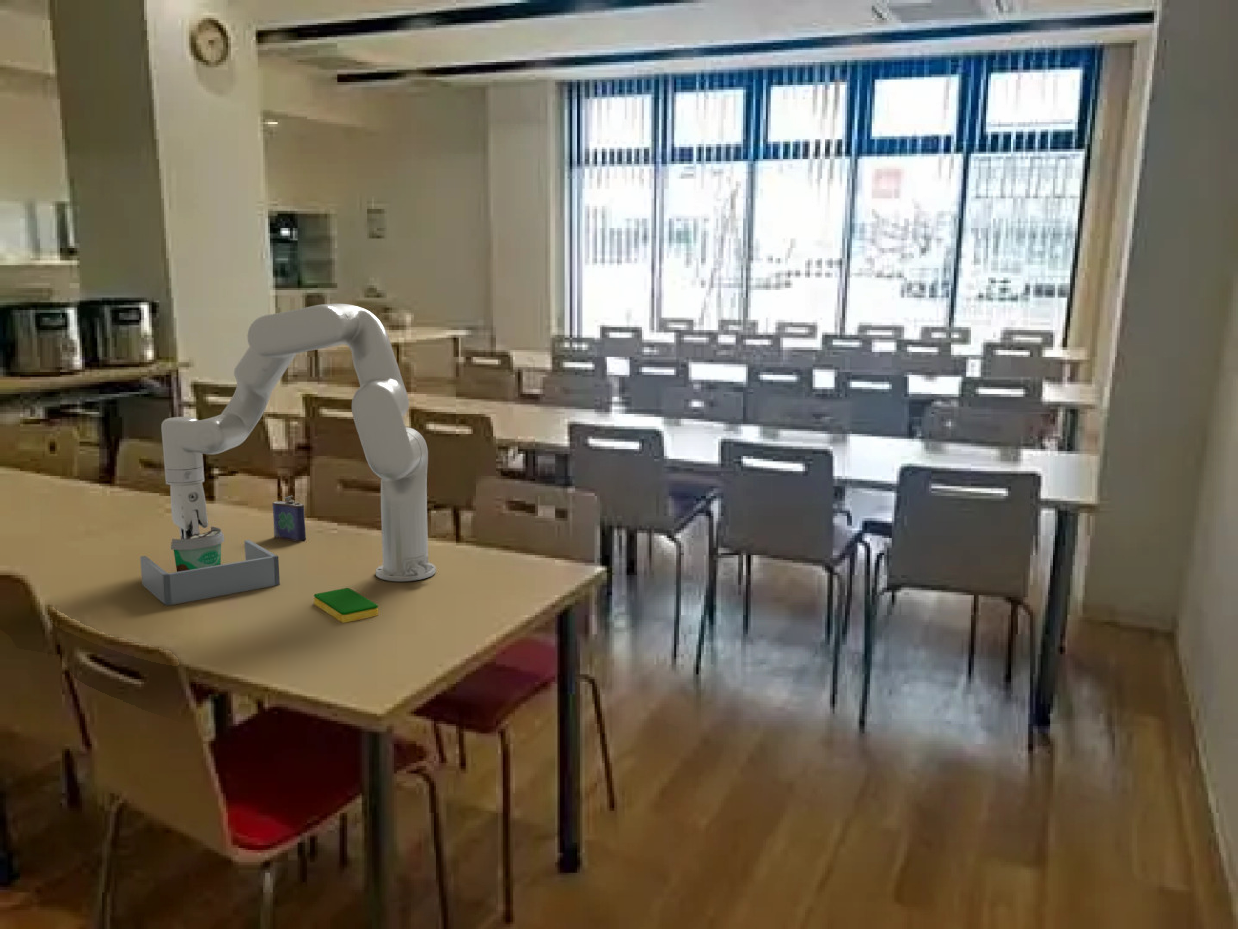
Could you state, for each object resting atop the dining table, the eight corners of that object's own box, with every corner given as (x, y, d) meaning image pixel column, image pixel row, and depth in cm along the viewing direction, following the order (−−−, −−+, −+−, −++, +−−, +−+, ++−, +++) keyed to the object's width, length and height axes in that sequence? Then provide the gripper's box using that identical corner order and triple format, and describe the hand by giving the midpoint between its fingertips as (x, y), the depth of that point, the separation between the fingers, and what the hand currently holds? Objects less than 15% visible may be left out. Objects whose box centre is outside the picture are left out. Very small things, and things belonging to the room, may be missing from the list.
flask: (271, 538, 236) (269, 495, 234) (280, 535, 239) (278, 493, 237) (301, 542, 232) (299, 499, 230) (309, 539, 235) (307, 496, 233)
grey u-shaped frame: (279, 584, 199) (278, 556, 198) (166, 605, 185) (164, 575, 184) (250, 566, 212) (249, 539, 211) (142, 584, 198) (140, 556, 197)
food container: (198, 590, 195) (194, 542, 193) (173, 587, 196) (170, 539, 195) (239, 573, 206) (236, 528, 204) (215, 571, 208) (213, 525, 206)
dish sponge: (348, 598, 192) (348, 587, 191) (379, 617, 181) (378, 605, 181) (313, 605, 187) (313, 593, 187) (343, 625, 177) (342, 612, 176)
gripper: (214, 478, 201) (220, 563, 205) (192, 468, 213) (198, 549, 216) (176, 482, 197) (183, 569, 200) (156, 472, 208) (162, 554, 211)
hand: (191, 558), depth 208 cm, fingers closed
